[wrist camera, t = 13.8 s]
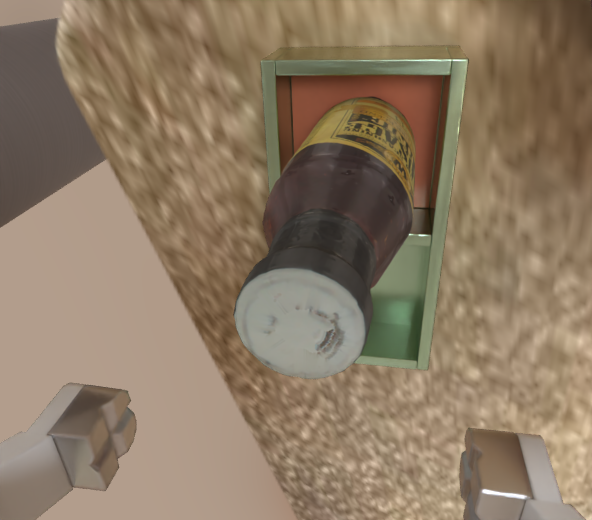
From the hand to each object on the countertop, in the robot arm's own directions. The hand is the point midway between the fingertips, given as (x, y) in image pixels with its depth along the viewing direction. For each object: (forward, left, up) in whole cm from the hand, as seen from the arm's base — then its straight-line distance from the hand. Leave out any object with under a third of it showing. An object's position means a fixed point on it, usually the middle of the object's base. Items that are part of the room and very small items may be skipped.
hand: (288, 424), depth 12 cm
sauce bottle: (0, 0, -23) cm, 23 cm away
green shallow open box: (0, -5, -24) cm, 24 cm away
